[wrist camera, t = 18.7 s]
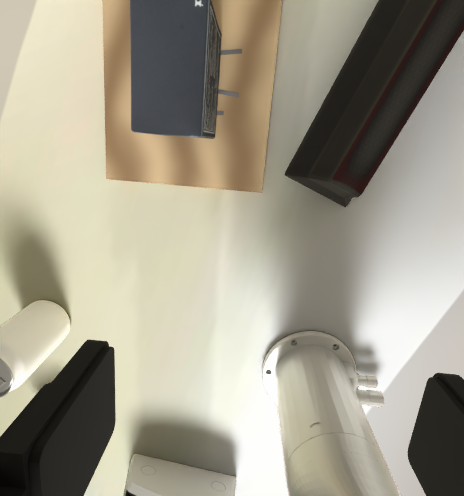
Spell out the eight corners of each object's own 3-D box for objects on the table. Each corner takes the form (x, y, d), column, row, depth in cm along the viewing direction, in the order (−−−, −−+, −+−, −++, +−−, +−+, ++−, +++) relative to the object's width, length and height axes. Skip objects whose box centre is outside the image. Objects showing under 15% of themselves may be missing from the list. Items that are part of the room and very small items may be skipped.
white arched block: (127, 477, 55) (107, 524, 45) (135, 447, 56) (117, 487, 46) (230, 500, 56) (233, 552, 46) (237, 470, 56) (241, 515, 46)
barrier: (399, -41, 35) (458, -111, 25) (472, 4, 36) (555, -48, 26) (282, 174, 41) (293, 183, 32) (346, 207, 42) (376, 227, 32)
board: (284, -28, 35) (286, -36, 34) (261, 190, 42) (261, 192, 40) (107, -42, 35) (101, -50, 34) (111, 177, 42) (106, 179, 40)
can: (47, 289, 46) (-18, 337, 35) (81, 324, 48) (29, 381, 36) (15, 316, 48) (-58, 370, 36) (49, 349, 49) (-11, 412, 38)
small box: (159, 26, 36) (124, -20, 26) (222, 31, 36) (213, -14, 26) (157, 135, 39) (126, 132, 29) (216, 139, 39) (205, 138, 29)
